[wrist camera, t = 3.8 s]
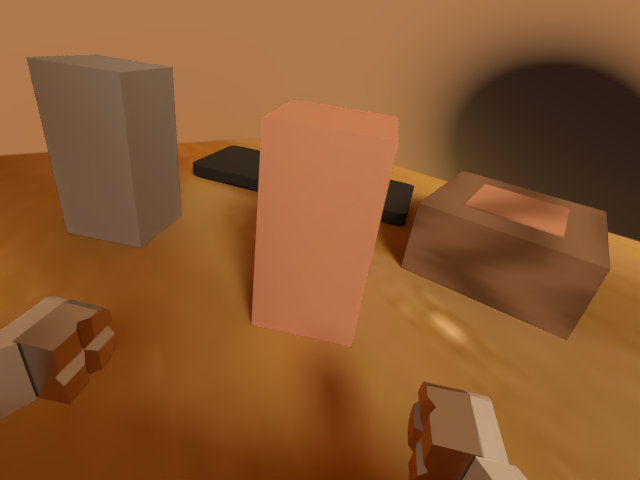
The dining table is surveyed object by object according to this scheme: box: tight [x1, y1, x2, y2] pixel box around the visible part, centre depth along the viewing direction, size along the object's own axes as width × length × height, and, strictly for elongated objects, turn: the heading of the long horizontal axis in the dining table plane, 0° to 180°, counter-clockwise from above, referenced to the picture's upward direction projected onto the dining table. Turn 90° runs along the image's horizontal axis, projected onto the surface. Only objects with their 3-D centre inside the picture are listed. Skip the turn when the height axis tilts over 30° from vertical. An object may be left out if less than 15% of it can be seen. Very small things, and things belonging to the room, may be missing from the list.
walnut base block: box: [401, 171, 610, 340], centre depth 25 cm, size 10×10×5 cm
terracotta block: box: [251, 99, 399, 347], centre depth 18 cm, size 5×5×10 cm
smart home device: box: [193, 146, 414, 226], centre depth 36 cm, size 8×2×20 cm
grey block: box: [27, 55, 181, 248], centre depth 23 cm, size 5×5×10 cm
